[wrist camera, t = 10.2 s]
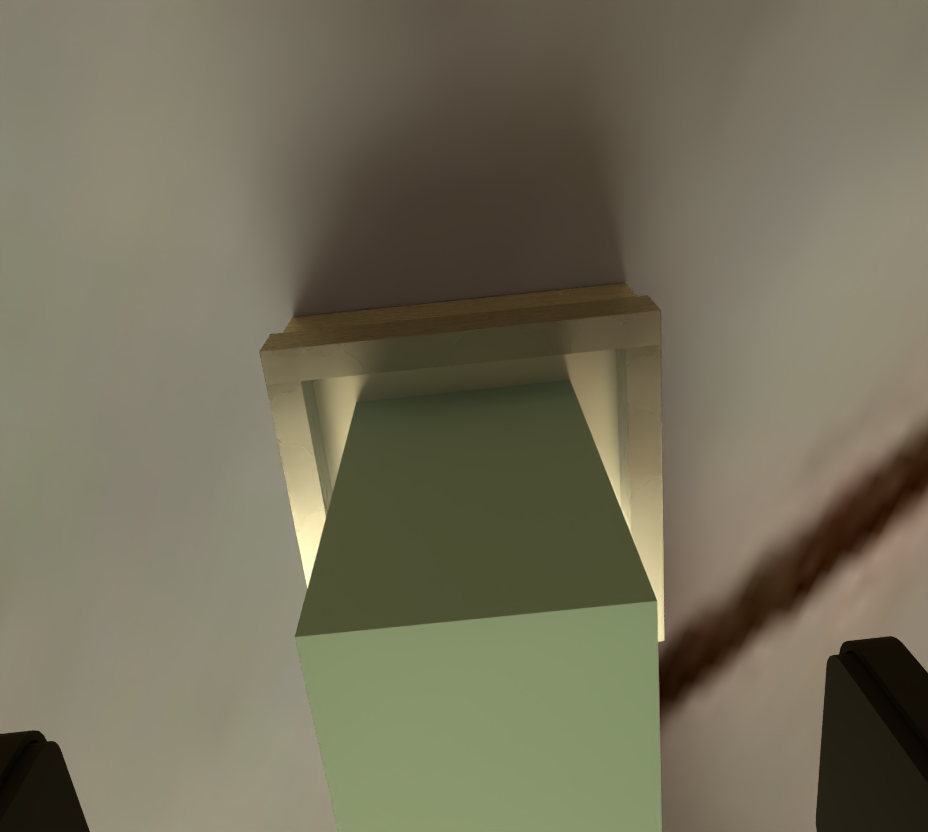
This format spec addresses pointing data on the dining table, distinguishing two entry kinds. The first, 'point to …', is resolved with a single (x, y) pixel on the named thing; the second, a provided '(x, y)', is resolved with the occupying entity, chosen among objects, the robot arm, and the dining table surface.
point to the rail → (476, 387)
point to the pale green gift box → (481, 624)
